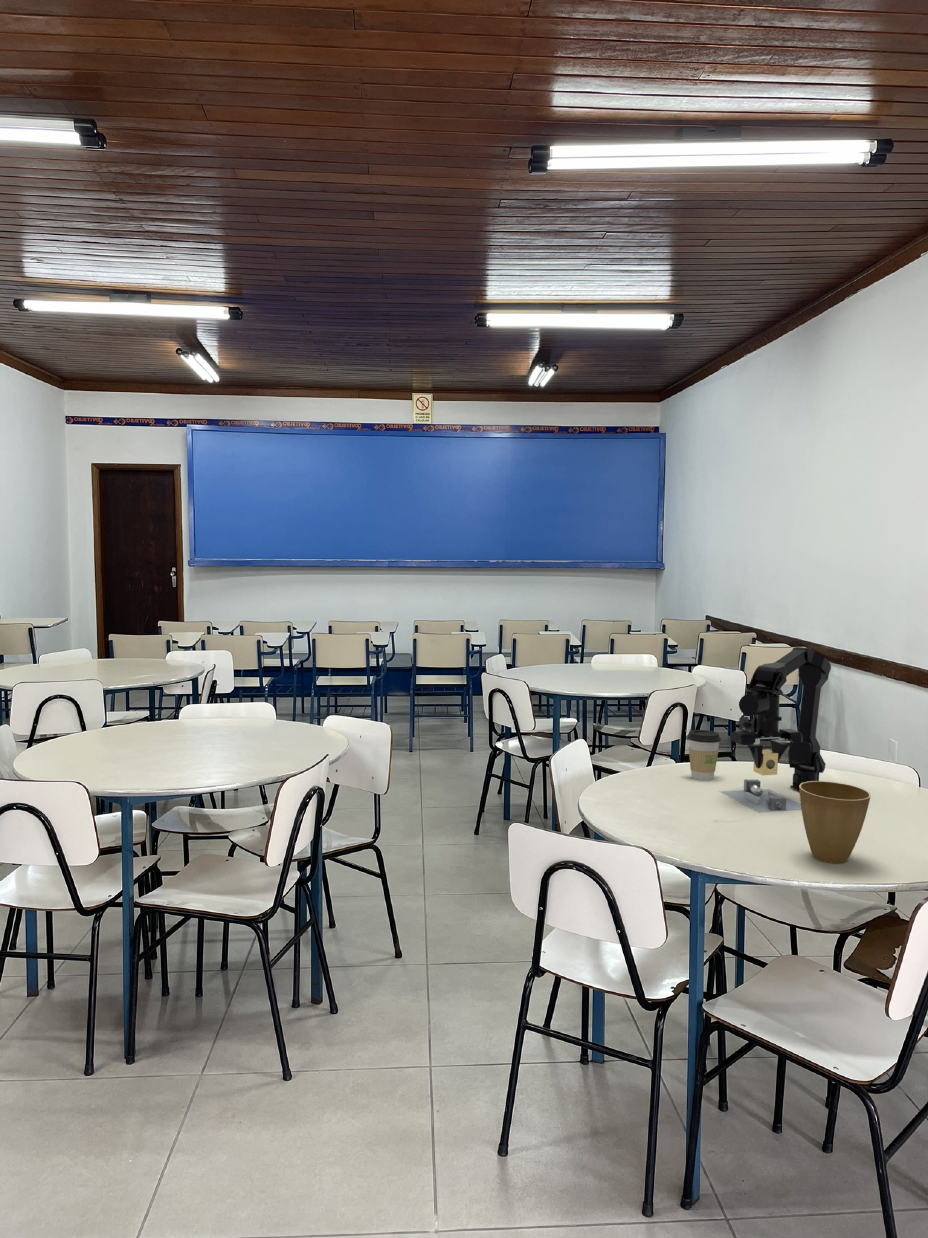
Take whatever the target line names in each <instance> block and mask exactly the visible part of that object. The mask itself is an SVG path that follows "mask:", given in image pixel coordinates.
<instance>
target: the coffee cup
mask: <svg viewBox="0 0 928 1238" xmlns="http://www.w3.org/2000/svg"><path fill="white" fill-rule="evenodd" d="M686 738H687V740H688V743H689V744H688V752H689V765H690V766H689V768H690V771H691V773H690V775H691V778H692V779H694V780H698V781H712V780H714V776H715V773H716V767H717V762H718V757H719V756H718V755H719V745H720V742H721V741H722V738H721V737H720V733H719V732H717V731H712V730H707V729H706V730H704V729H695V730H694V729H693V730H690V731H689V734H688V735H687V737H686Z"/></svg>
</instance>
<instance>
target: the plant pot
mask: <svg viewBox="0 0 928 1238" xmlns="http://www.w3.org/2000/svg"><path fill="white" fill-rule="evenodd" d="M798 792H799V801H800V802H799V803H800V804H801V810H800V811H801V815H802V820H803V826H804V830H805V831H804V832H805V834H806V839H807V842H808V845H809V849H810V852H811V855H812V857H813V858H814V859H816V860H819V861H820V860H821V861H820V862H824V861H825V863H828V862H829V863H828V864H836V863H839V864H845V863H847V862H848V861H849V859H850V857H851V854H852V853H853V850H854V849H855V847H856V844H857V841H858V839H859V838H860V835H861V831H862V829H863V826H864V822H865V820H866V817H867V813H868V808H869V805H870V800H871V793H870V792H869V791H867V789H864V788H861V787H858V786H855V785H851V784H847V783H841V782H834V781H823V780H822V781H821V780H819V781H809V782H804V783H801V784H800V785H799V791H798ZM846 861H847V862H846ZM844 862H845V863H844Z"/></svg>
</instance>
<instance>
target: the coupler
mask: <svg viewBox="0 0 928 1238" xmlns="http://www.w3.org/2000/svg"><path fill="white" fill-rule="evenodd" d="M778 764H779V761H778V753H776V752H774V751H772V749H763V750H762V757H761V764H760V768H756V765H755V762H754V761H753V772H754V773H756V774H759V775H760V776H775V775H776V776H777V775H778V766H779V765H778Z"/></svg>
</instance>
